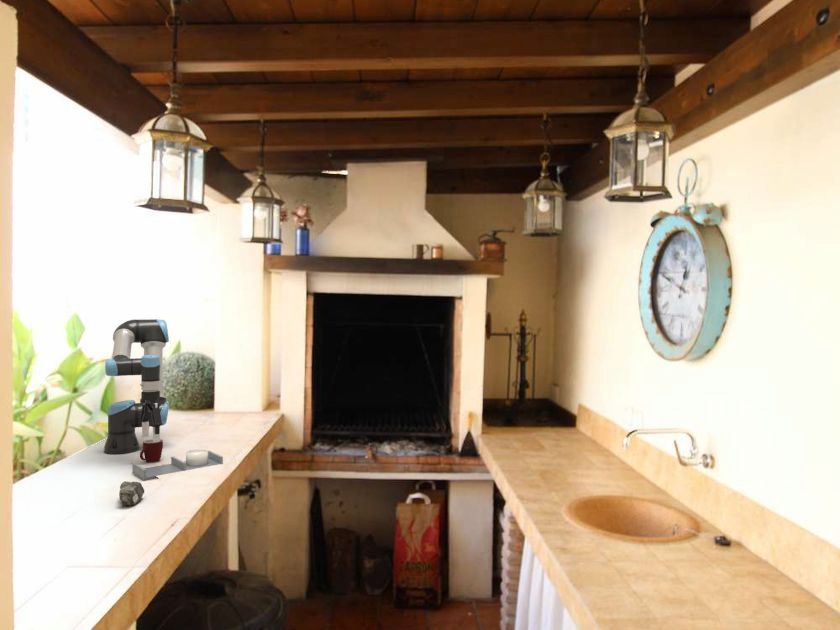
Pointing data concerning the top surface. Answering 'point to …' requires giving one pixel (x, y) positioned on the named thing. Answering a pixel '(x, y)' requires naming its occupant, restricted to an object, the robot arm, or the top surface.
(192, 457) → the white egg shape
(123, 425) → the robot arm
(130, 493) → the stone
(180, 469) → the rack
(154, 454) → the red cup
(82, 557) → the top surface
